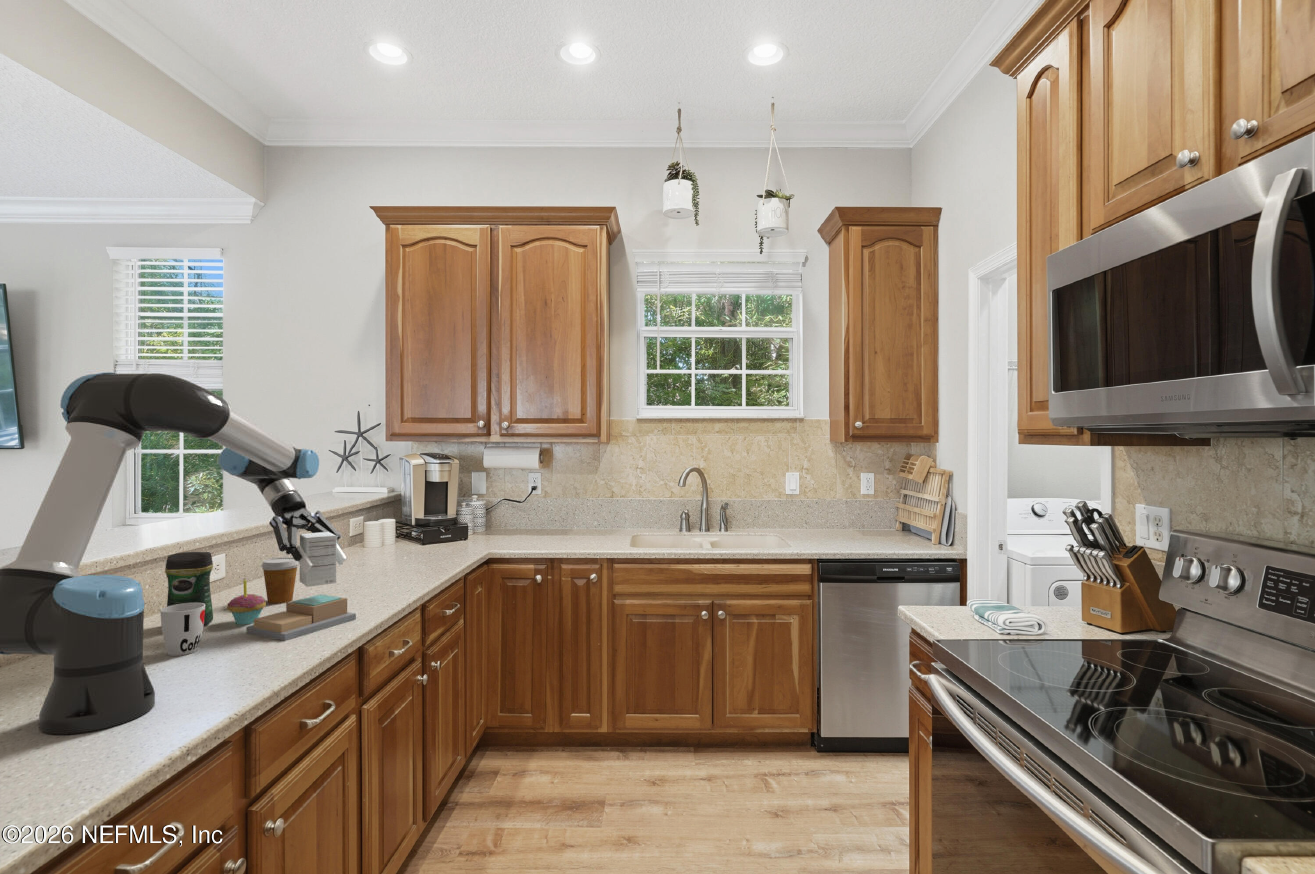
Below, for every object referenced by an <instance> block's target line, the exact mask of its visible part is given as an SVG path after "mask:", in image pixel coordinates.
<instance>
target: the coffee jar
mask: <svg viewBox="0 0 1315 874" xmlns="http://www.w3.org/2000/svg"><path fill="white" fill-rule="evenodd" d="M164 568H165V569H164V572H165V576H166V577H167V601H166V607H167V606H171V605H176V604H183V603H204V604H205V617H204V626H208V625H209V624H211V623H212V621H213V620H214V612H213V611H214V610H213V602H212V595H211V580H210V579H211V573H212V570H213V568H214V561H213V556H212V553H211V552H210V551H185V552H177V553H173V554H170V555H168V556H167V558H166V561H165V567H164Z"/></svg>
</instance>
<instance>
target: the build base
mask: <svg viewBox="0 0 1315 874" xmlns="http://www.w3.org/2000/svg"><path fill="white" fill-rule="evenodd" d="M356 619H357V613H355V612H349V611H348V598H347V597H341V596H333V595H327V594H315V595H312V596H308V597H304V598H301V599H297V600H292V601H290V602H286V606H285V610H283V611H280V612H276V613H273V614H269V615H264V616H261V617H260V616H259V618H256V619H254V623H253V624H252V625H248V626H246V628H245V629H246V630H245V631H246V634H250V635H255V636H259V637H265V638H269V639H275V640H279V641H284V642H286V641H289V640H292V639H296V638H299V637H302V636H306V635H308V634H313V633H315V632H318V631H321V630H325V629H328V628H332V627H334V626H338V625H341V624H345V623H349V622H351V621H352V622H353V621H354V620H356Z"/></svg>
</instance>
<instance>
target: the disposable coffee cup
mask: <svg viewBox="0 0 1315 874" xmlns="http://www.w3.org/2000/svg"><path fill="white" fill-rule="evenodd" d="M299 565H300V564H299V562H298V561H295V560H294V558H293V557H291V556H290V557H288V556H287V557H286V556H282V557H274V558H268V559H265V560H263V561H262V564H261V568H262V570H263V578H264V584H265V585H264V586H265V593H266V599H267V600H266V601H267V603H268V604H271V605H274V604H275V605H276V604H285V603H288V602H292V601H294V599H293V598H294V593H295V592H294V591H295V584H296V578H297V570H298V567H299Z"/></svg>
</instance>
